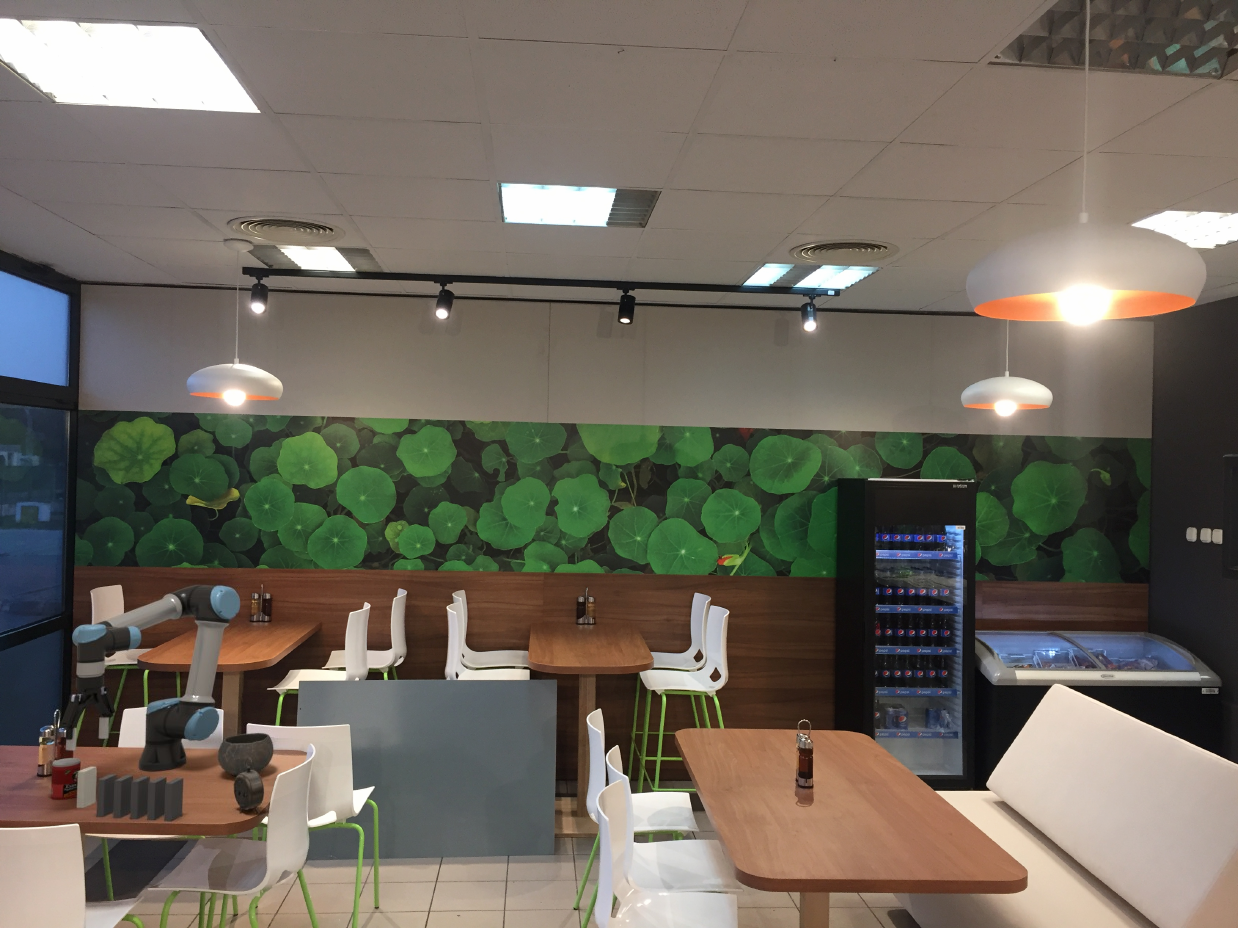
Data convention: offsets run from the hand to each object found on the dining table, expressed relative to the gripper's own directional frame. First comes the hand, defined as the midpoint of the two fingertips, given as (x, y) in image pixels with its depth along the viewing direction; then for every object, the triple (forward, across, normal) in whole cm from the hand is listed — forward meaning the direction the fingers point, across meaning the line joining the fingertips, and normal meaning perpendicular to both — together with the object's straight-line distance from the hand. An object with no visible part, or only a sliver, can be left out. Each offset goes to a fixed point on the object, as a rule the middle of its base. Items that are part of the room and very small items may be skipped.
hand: (87, 743), depth 271 cm
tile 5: (+19, +6, +28) cm, 34 cm away
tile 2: (+19, +6, +12) cm, 23 cm away
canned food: (+19, -6, -12) cm, 23 cm away
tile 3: (+19, +6, +17) cm, 26 cm away
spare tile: (+19, 0, 0) cm, 19 cm away
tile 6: (+19, +6, +34) cm, 39 cm away
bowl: (+19, -37, +31) cm, 52 cm away
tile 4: (+19, +6, +23) cm, 30 cm away
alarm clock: (+19, -3, +52) cm, 56 cm away
